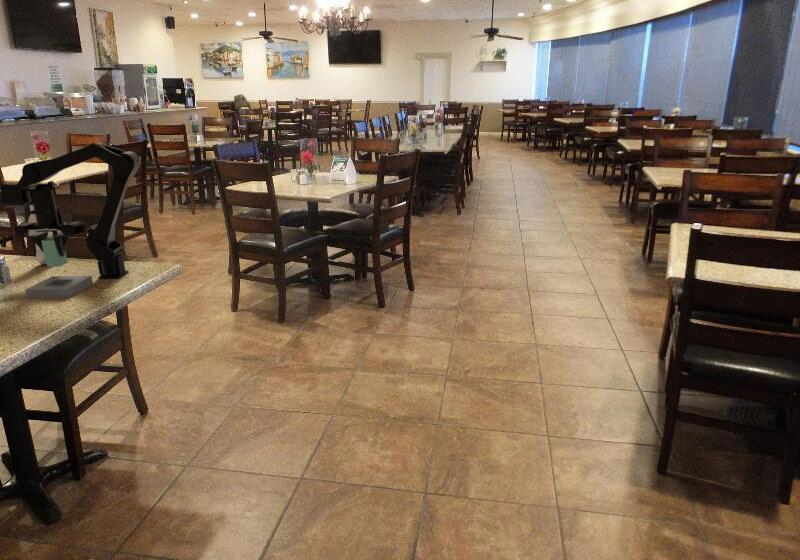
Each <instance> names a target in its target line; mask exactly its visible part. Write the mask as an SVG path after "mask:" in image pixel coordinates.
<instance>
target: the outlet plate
mask: <svg viewBox="0 0 800 560" xmlns="http://www.w3.org/2000/svg"><path fill="white" fill-rule="evenodd" d="M93 281H94V280H93V276H92V275H62V276H61V275H58V276H56V275H55V276H50V277H48V278H46V279H44V280H41V281H40V282H38V283H36V284H34V285H32V286H30V287H28V288H26V289H25V294H26V297H27V299H48V298H49V299H59V298H60V299H61V298H63V299H64V298H65V299H66V298H67V299H70V297H73V296H75V295H76V294H78V293H80V292H82V291H83V290H85V289H86V288H89V287H90V286H92V285H94V282H93Z"/></svg>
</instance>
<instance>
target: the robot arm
mask: <svg viewBox="0 0 800 560" xmlns="http://www.w3.org/2000/svg"><path fill="white" fill-rule="evenodd" d="M92 159H98V160H100V161H102V162H104V163H106V164H108V165H109V166H112V170H111V171H112V172H111V173H112V181H111V184H110V188H109V190H108V194H107V196H106V197H107V198H106V199H105V203H104V206H103V209H102V212H101V215H100V218H99V221H98V224H97V223H96V224H94V225H92V226H90V227H89V228H88V233H87V236H86V238H85V239H84V241H85V242H86V244H85V245H86V248H87V249H88V251H89V252H91V253H92V254H93V255H94V257H95V259H96V260H97V262H96V263H97V269H98V273H99V275H98V276H97V277H98V279H118V278H121V277H123V276H125V275H126V274H128V273H129V270H126V265H125V261H124V255H123V254H121V253H122V252H123V250H124V245H123V244H121V243H120V242H119V241H117V240H116V239H115V237H116V230H115V229H116V228H115V226H116V222H117V220H118V216H119V213H120V210H121V207H122V204H123V201H124V199H125V196H126V192H127V189H128V186H129V184H130V182H131V181H132V179H133V178H134V177H135V176H136V173H138V170H139V168H140V167H141V164H142V161H141V158H140V156H139V155H138V154H137V153H135V152H133V151H130V150H129V151H125V150H122V149H120V148H117V147H113V146H110V145H107V144H106V143H105V144H104V142H100V141H98V142H94V143H93V142H92V143H90V144H89V145H86V146H84V147H82V148H79V149H76V150H73V151H71V152H69V153H65V154H63V155H60V156H58V157H55V158H49V159H43V160H37V161H33V162H29V163H26V164H25V165H23V167H22V169H21V172H22V173H21V174H22V175H21V177H20V179H19V180H18V182H17V183H9V182H6V183H5V182H4V183H2V184H0V186H1V189H0V203H1V205H2V206H3V207H5V208H15V207H17V208H18V207H21V208H22V207H28V206H30V205H33V208H34V210H32V211H30V213H32V214H35V217H36V221H37V223H36V222H35V223H28V222H22V223H20V224H17V225H15V226H14V228H13V232H14V236H16V237H17V236H19V237H20V236H22V237H23V236H26V235H27V233H28V236H27V237H26V238H27V239H30V240H31V241H32V242H33V243H34V244H36V245H37V246H38V247H39V248H40V249H41V250H42V251H43V247H42V242H41V241H42V240H44V239H47V236H48V232H52V233H53V232H57V234H56V235H52V236H53V237H54V240H55V243H56V246H57V248H58V251H59V254H60V256H61V257H63V256H64V254H65V252H66V249H67V243H68V240H69V238H70V237H71V236H74V235H77V234H81V233H82V232H86V226H85V224H84V223H83V222H82V221H72V213H69V212H64V211H61V208H60V206H56V200H55V196H54V195H55V194H54V190H57V189H58V190H59V189H60V188H61V186H60V185H59V184H58V183H55V182H54V181H53V180H50V179H52V178H53V177H54V176H57V174H59V173H61V172H62V171H64V170H65V169H69V168H71V167H74V166H76V165H79V164H82V163H85V162H88V161H90V160H92ZM48 180H50V181H48ZM45 181H48V182H47V183H42V182H45ZM34 185H35V187H31V186H34ZM30 203H32V204H30ZM45 228H47V229H45ZM36 245H35V246H36ZM43 253H44V251H43Z"/></svg>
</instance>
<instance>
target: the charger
mask: <svg viewBox="0 0 800 560" xmlns="http://www.w3.org/2000/svg"><path fill="white" fill-rule="evenodd" d="M53 236H54V235H52V237H48V238H47V239H44V240H42V241H41V242H42V247H43V251H44V255H45V260H46V264H47V265H46V267H48V268H49V267H50V268H51V267H55V268H56V267H62V266H63V265H65V264H68V262H69V261H68V256H67V252H66V251H65V254H64V256H63V257H61V256H60V254H59V251H58V248H57V246H56V243H55V240H54V237H53Z"/></svg>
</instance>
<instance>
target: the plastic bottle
mask: <svg viewBox="0 0 800 560" xmlns="http://www.w3.org/2000/svg"><path fill="white" fill-rule="evenodd" d="M29 209H30V213H31V211H32V210H34V208H33V204H29ZM35 222H36V223H37V221H36V217H35V214H32V213H31V214H30V215H29V218H28V221H27V223H35ZM45 229H47V228H45ZM52 236H53V232H48V236H47V238H48V237H52ZM34 244H35V243H34ZM35 250H36V251H35V252H36V253H35V254H36V255H35V256H36V261H37V263H38V264H40V265H46V260H45V255H44V253H43V251H42V250H41V249H40V248H39V247H38V246H37V245H36V244H35ZM46 266H47V265H46Z"/></svg>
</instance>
